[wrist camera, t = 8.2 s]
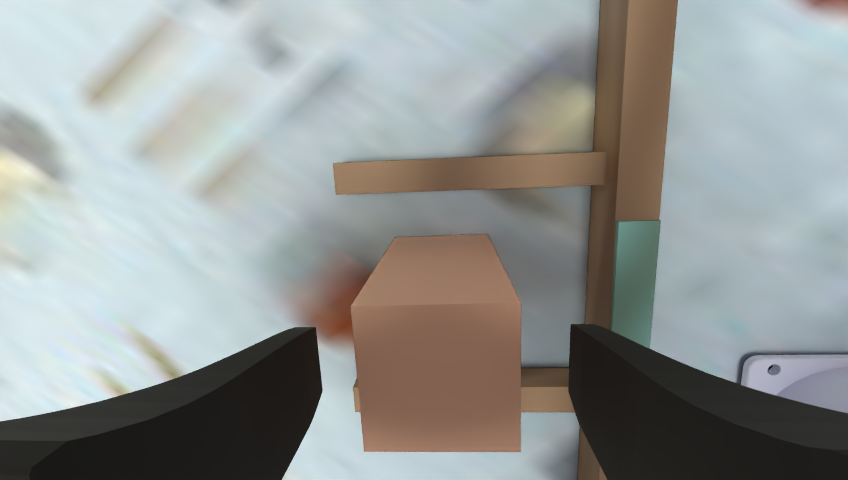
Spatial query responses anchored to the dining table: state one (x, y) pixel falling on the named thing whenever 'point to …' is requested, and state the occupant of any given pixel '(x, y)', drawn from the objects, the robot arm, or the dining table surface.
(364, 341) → the terracotta block
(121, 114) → the dining table surface
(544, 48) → the dining table surface
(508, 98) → the dining table surface
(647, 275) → the brown open frame
